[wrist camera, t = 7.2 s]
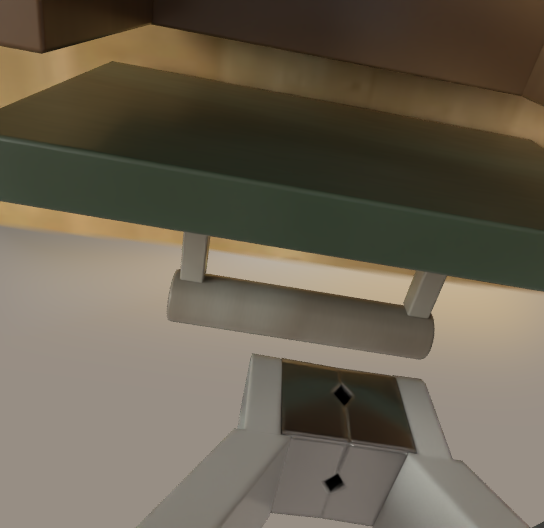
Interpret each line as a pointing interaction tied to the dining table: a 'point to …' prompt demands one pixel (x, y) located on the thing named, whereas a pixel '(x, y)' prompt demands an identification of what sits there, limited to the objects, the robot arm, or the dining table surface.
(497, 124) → the dining table surface
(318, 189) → the drawer
